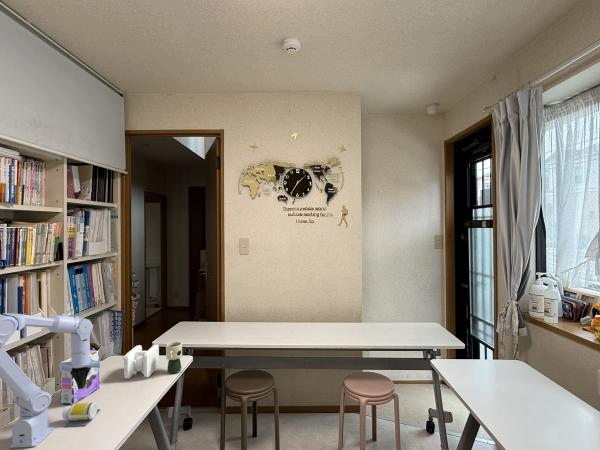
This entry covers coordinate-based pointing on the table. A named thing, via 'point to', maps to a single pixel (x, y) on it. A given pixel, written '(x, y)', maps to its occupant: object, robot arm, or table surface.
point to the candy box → (69, 386)
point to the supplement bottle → (80, 411)
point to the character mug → (174, 356)
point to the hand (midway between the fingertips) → (81, 387)
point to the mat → (79, 422)
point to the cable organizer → (141, 361)
